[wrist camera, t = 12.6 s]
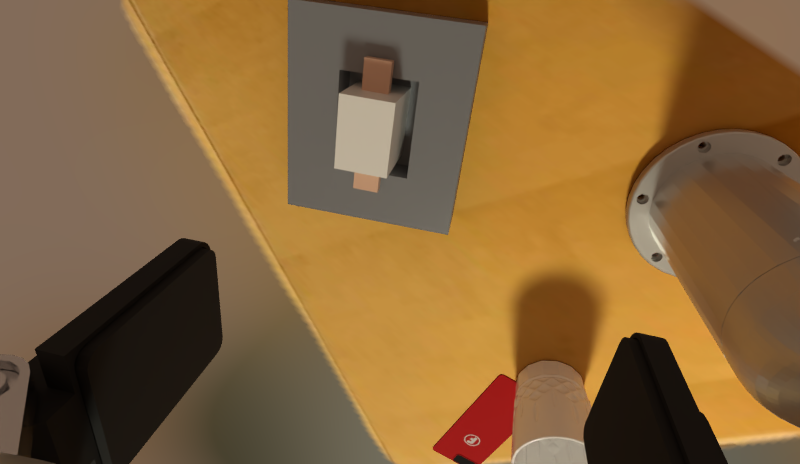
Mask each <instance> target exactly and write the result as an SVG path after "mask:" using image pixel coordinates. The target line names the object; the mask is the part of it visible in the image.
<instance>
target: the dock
mask: <svg viewBox="0 0 800 464" xmlns="http://www.w3.org/2000/svg"><path fill="white" fill-rule="evenodd" d="M487 26H488V22H481V21H474V20H466V19H459V18H452V17H444V16H437V15H430V14H422V13H415V12H408V11H401V10H393V9H386V8H379V7H371V6H364V5H357V4H349V3H342V2H335V1H328V0H288V204H291V205H296V206H302V207H307V208H312V209H317V210H322V211H327V212H333V213H338V214H343V215H348V216H353V217H358V218H364V219H369V220H374V221H379V222H384V223H389V224H395V225H400V226H405V227H410V228H415V229H420V230H426V231H431V232H436V233H441V234H446V235H448V233H449V228H450V224H451V220H452V216H453V210H454V205H455V199H456V194H457V189H458V183H459V178H460V172H461V167H462V162H463V156H464V151H465V145H466V140H467V135H468V129H469V124H470V118H471V113H472V107H473V102H474V97H475V91H476V86H477V80H478V75H479V70H480V64H481V59H482V53H483V48H484V43H485V37H486V32H487ZM366 56H371V57H377V58H383V59H389V60H394V68H393V77H392V84H394V85H400V86H406V87H411V92H410V100H409V107H408V114H407V122H406V129H405V137H404V144H403V151H402V155H401V156H400V158H399V160H398V161H397V163H396V164H395V166H394V168H393V169H392V171H391V172H390V174H389V175H388V177H387V179H386V178H381V181H380V189H379V191H378V192H377V193H376V192H371V191H366V190H361V189H356V188H353V183H354V172H350V171H345V170H340V169H335V168H334V163H335V147H336V131H337V116H338V100H339V93H340V92H342V91H343V90H345V89H347V88H348V87H350V86H352V85H353V84H355V83H356V82H358V81H360V80H361V79H363V67H364V57H366Z"/></svg>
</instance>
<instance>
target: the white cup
mask: <svg viewBox="0 0 800 464" xmlns="http://www.w3.org/2000/svg"><path fill="white" fill-rule="evenodd" d="M590 410H591V404H590V401H589V399H588V398H587V394H586V391H585V388H584V384H583V380H582V377H581V375H580V374H579V373H577V372H576V371H575V370H574V369H573V368H572V367H571V366H569V365H566V364H564V363H561V362H558V361H539V362H536V363H533V364H530V365H528V366H527V367H526V368H524V369H523V370H522V371H521V372H520V373H519V375H518V379H517V382H516V393H515V401H514V414H513V429H512V455H511V464H588V463H587V457H586V452H585V446H584V439H583V431H584V425H585V422H586V420H587V417H588V415H589V413H590Z"/></svg>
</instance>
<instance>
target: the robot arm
mask: <svg viewBox="0 0 800 464" xmlns="http://www.w3.org/2000/svg"><path fill="white" fill-rule="evenodd" d="M702 142H704V143H703V145H702V146H701V147H698V146H699V144H700V143H702ZM780 156H782V157H781V158H780V159H778V158H779V157H780ZM641 194H643V196H642V197H640V198H638V196H639V195H641ZM626 225H627V229H628V233H629V236H630V238H631V240H632V242H633V244H634V246H635V248H636V249H637V250H638V252H639V253H640V255H641V256H642V257H643V258H644V259H645V260H646V261H647V262H648V263H649V264H651V265H652V266H654V267H655V268H657V269H659V270H660V271H662V272H664V273H667V274H670V275H672V276H675V277H677V278H678V280H679V281H680V283H681V285H682V286H683V288H684V290H685V291H686V293H687V295H688V296H689V298H690V300H691V301H692V303H693V305H694V306H695V308H696V310H697V311H698V313H699V315H700V316H701V318H702V320H703V321H704V323H705V325H706V326H707V328H708V330H709V331H710V333H711V335H712V336H713V338H714V340H715V341H716V343H717V345H718V346H719V348H720V350H721V351H722V353H723V355H724V356H725V358H726V359H727V361H728V363H729V365H730V366H731V368H732V370H733V371H734V373H735V374H736V376H737V378H738V379H739V381H740V382H741V383H742V385H743V386H744V387H745V389H746V390H747V391H748V392H749V393H750V394H751V395H752V396H753V397H754V398H755V399H756V400H757V401H758V402H759V403H760V404H761V405H762V406H764V407H765V408H766V409H768V410H769V411H770V412H772V413H773V414H775V415H776V416H778V417H779V418H781V419H783V420H785V421H787V422H789V423H791V424H793V425H795V426H797V427H799V428H800V157H799V156H798V154H797V153H795V152H794V151H793V150H792V149H790V148H789V147H788V146H787V145H785V144H784V143H782V142H780V141H778V140H776V139H775V138H773V137H770V136H767V135H765V134H762V133H759V132H756V131H749V130H743V129H720V130H715V131H709V132H704V133H701V134H698V135H695V136H692V137H689V138H686V139H684V140H682V141H680V142H678V143H676V144H675V145H673V146H671V147H669V148H668V149H666V150H665V151H664V152H662V153H661V154H660V155H658V156H657V157H656V158H654V159H653V160H652V161H651V162H650V164H649V165H648V166H647V167H646V168H645V169H644V170H643V171H642V172H641V174H640V175H639V177H638V178H637V180H636V181H635V183H634V185H633V187H632V190H631V192H630V194H629V197H628V201H627V206H626ZM654 253H656V254H654ZM220 314H221V313H220V302H219V291H218V278H217V268H216V257H215V253H214V251H212V250H210V247H209V246H208V244H207V243H205V242H200V241H195V240H190V239H186V238H181V239H179V240H178V241H176V242H175V243H174V244H172V245H171V246H170V247H168V248H167V249H166V250H164V251H163V252H162V253H160V254H159V255H158V256H157V257H155V258H154V259H153V260H151V261H150V262H149V263H147V264H146V265H145V266H143V267H142V268H141V269H139V270H138V271H137V272H135V273H134V274H133V275H132V276H130V277H129V278H128V279H126V280H125V281H124V282H122V283H121V284H120V285H118V286H117V287H116V288H114V289H113V290H112V291H110V292H109V293H108V294H107V295H105V296H104V297H103V298H101V299H100V300H99V301H97V302H96V303H95V304H93V305H92V306H91V307H89V308H88V309H87V310H86V311H84V312H83V313H82V314H80V315H79V316H78V317H76V318H75V319H74V320H72V321H71V322H70V323H68V324H67V325H66V326H64V327H63V328H62V329H61V330H59V331H58V332H57V333H55V334H54V335H53V336H51V337H50V338H49V339H48V340H46V341H45V342H43V343H42V344H41V345H40V346H38V347H37V348H36V349H35V351H36V354H37V356H36V357H34V358H33V359H32V360H31V361H29V362H28V363H27V362H26V361H25V360H24V359H23V358H21V357H18V356H15V355H5V354H0V464H129V463H130V462H131V461H132V460H133V458H134V457H135V456H136V455H137V453H138V452H139V451H140V450H141V448H142V447H143V446H144V445H145V443H146V442H147V441H148V440H149V438H150V437H151V436H152V435H153V433H154V432H155V431H156V430H157V428H158V427H159V426H160V424H161V423H162V422H163V421H164V419H165V418H166V417H167V416H168V415H169V413H170V412H171V411H172V409H173V408H174V407H175V405H176V404H177V403H178V402H179V401H180V399H181V398H182V397H183V396H184V394H185V393H186V392H187V391H188V389H189V388H190V387H191V385H192V384H193V383H194V382H195V381H196V379H197V378H198V377H199V376H200V374H201V373H202V372H203V370H204V369H205V368H206V367H207V365H208V364H209V363H210V362H211V360H212V359H213V358H214V357H215V355H216V354H217V353H218V351H219V349H220V347H221V344H222V325H221V315H220ZM583 439H584V446H585V452H586V457H587V463H588V464H728V463H727V460H726V458H725V456H724V454H723V452H722V450H721V448H720V446H719V443H718V441H717V439H716V437H715V435H714V433H713V431H712V429H711V426H710V424H709V422H708V420H707V419H706V417H705V416H704V414H703V413H701V412H700V411H699V409H698V407H697V405H696V403H695V401H694V399H693V396H692V394H691V392H690V390H689V388H688V386H687V383H686V381H685V379H684V377H683V375H682V373H681V370H680V368H679V366H678V364H677V362H676V360H675V357H674V355H673V353H672V351H671V349H670V347H669V344H668V342H667V341H666V339H664V338H660V337H655V336H651V335H646V334H641V333H634V334H633V335H632V336H631V337H630V338H627V337H624V338H623V339H622V340H621V342H620V344H619V346H618V348H617V351H616V353H615V355H614V357H613V360H612V362H611V364H610V367H609V369H608V371H607V374H606V376H605V378H604V380H603V383H602V385H601V387H600V390H599V392H598V394H597V397H596V399H595V401H594V404H593V406H592V408H591V410H590V413H589V415H588V417H587V420H586V422H585V425H584V431H583Z"/></svg>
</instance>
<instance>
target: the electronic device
mask: <svg viewBox="0 0 800 464" xmlns="http://www.w3.org/2000/svg"><path fill="white" fill-rule="evenodd" d="M515 393H516V381H514V380H512V379H510V378H508V377H507V376H505V375H499V376H498V377H497V378H496V379H495V380H494V381H493V382H492V383H491V384H490V386H489V387H488V388H487V389H486V390H485V391H484V392H483V393H482V394H481V395H480V396H479V398H478V399H477V400H476V401H475V402H474V403H473V404H472V405H471V406H470V407H469V408H468V410H467V411H466V412H465V413H464V414H463V415H462V416H461V417H460V418H459V419H458V420H457V421H456V423H455V424H454V425H453V426H452V427H451V428H450V429H449V430H448V431H447V432H446V433H445V435H444V436H443V437H442V438H441V439H440V440H439V441H438V442H437V443H436V444H435V445H434V447H433V450H434V451H436V452H438V453H440V454H442V455H444V456H445V457H447V458H449V459H451V460H453V461H454V462H456V463H458V464H481V463H482V462H483V461H484V460H486V459H487V458H488V457H489V456H490V455H491V454H492V453H493V452H494V451H495V450H496V449H497V448H498V447H499V446H500V445H501V444H502V443H503V442H504V441H505V440H506V439H508V438H509V437H510V436H511V435H512V429H513V414H514V401H515Z"/></svg>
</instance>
